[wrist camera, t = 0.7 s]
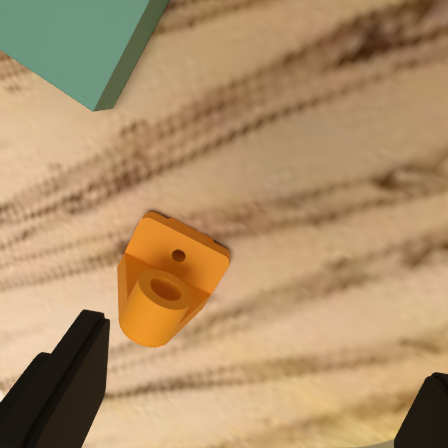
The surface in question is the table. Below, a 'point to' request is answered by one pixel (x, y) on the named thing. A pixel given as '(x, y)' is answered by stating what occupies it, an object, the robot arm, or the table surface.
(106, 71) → the green block
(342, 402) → the table surface
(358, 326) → the table surface
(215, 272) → the bracket
